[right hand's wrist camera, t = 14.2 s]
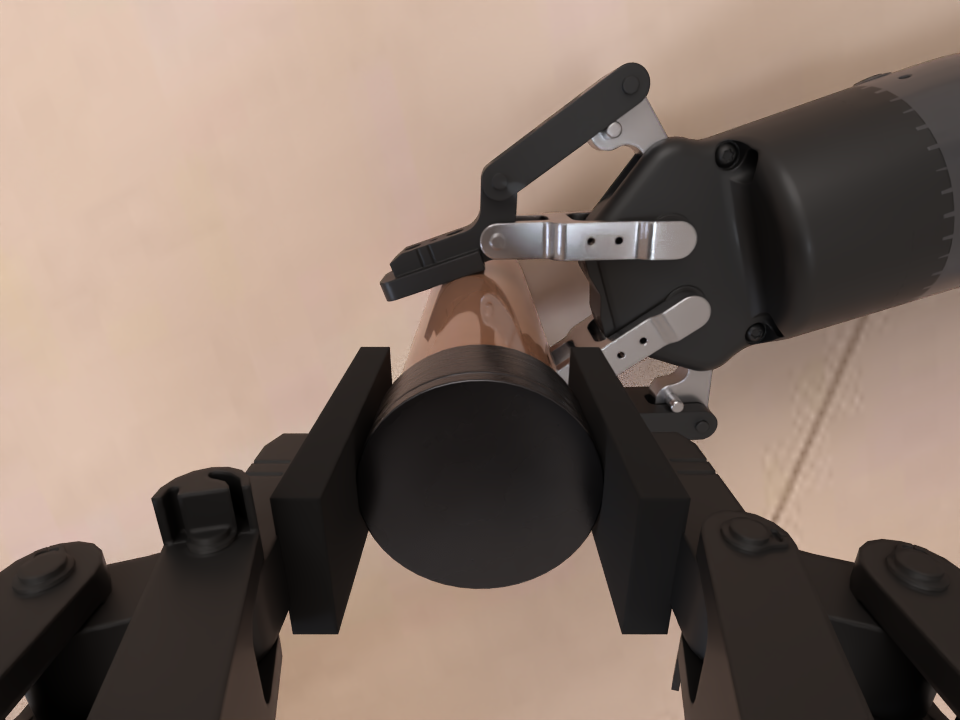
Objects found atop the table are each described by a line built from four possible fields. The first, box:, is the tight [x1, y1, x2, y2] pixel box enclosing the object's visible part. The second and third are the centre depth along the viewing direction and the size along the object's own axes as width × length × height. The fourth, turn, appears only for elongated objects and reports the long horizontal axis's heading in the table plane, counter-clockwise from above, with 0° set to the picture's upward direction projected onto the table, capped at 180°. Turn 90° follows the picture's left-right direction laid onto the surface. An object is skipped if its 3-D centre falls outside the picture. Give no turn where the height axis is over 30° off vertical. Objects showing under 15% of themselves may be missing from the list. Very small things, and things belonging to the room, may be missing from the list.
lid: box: [356, 344, 604, 589], centre depth 11 cm, size 5×5×2 cm
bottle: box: [401, 259, 559, 375], centre depth 18 cm, size 4×4×16 cm
